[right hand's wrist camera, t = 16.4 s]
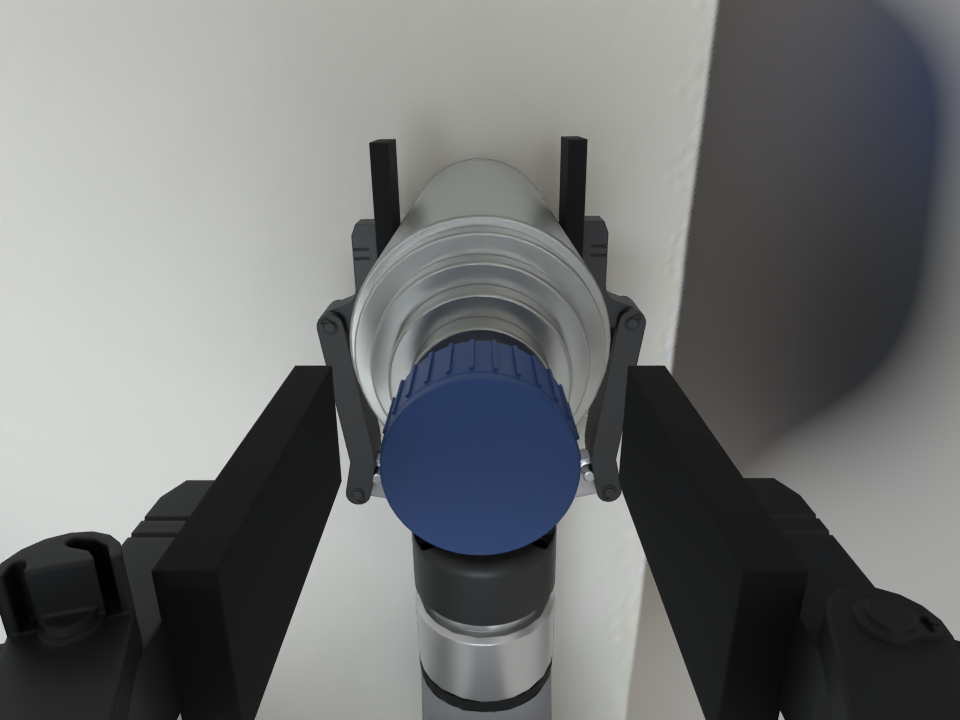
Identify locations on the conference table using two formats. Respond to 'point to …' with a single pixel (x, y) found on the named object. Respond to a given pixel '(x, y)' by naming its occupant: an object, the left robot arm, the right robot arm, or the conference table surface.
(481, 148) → the conference table surface
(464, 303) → the bottle
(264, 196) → the conference table surface
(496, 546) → the cap
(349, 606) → the conference table surface
